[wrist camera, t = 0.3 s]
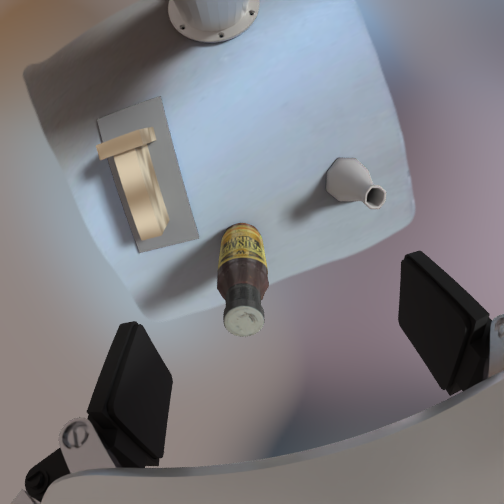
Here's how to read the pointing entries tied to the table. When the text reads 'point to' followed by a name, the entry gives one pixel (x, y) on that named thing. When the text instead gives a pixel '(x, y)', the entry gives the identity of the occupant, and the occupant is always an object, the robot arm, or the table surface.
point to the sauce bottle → (242, 279)
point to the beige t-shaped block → (138, 180)
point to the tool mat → (164, 167)
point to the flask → (353, 183)
